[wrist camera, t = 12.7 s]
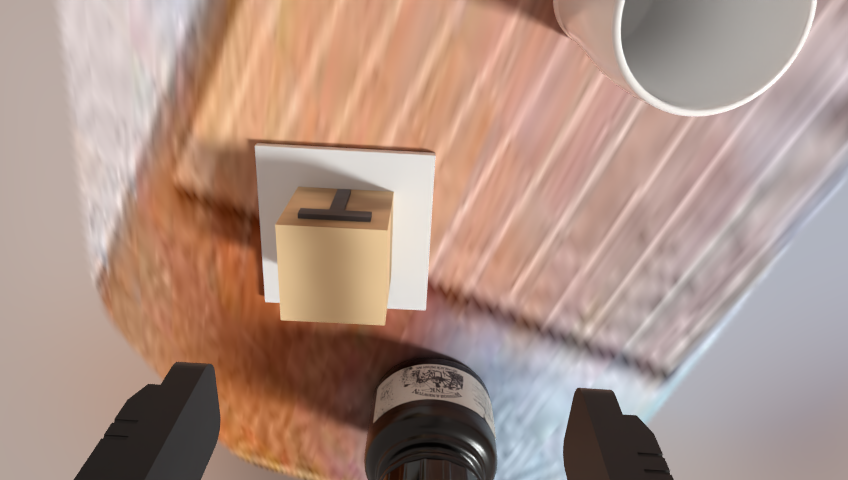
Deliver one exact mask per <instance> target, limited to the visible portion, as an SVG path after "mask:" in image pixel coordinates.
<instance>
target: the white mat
mask: <svg viewBox="0 0 848 480" xmlns="http://www.w3.org/2000/svg"><path fill="white" fill-rule="evenodd" d="M255 158H256V173H257V188H258V203H259V217H260V232H261V247H262V262H263V277H264V292H265V302H275V303H280V298H279V281H278V264H277V246H276V229H275V224H276V223H277V221H278V219H279V218H280V216H281V214H282V213H283V211H284V209H285V208H286V206H287V204H288V203H289V201H290V199H291V198H292V196H293V194H294V193H295V191H296V189H297V188H298V187H314V188H333V189H352V190H371V191H391V192H394V204H393V236H392V267H391V282H390V289H389V297H388V305H387V308H390V309H409V310H426V298H427V282H428V266H429V250H430V234H431V219H432V203H433V187H434V171H435V153H430V152H412V151H394V150H375V149H357V148H339V147H321V146H303V145H284V144H266V143H257V144H256V145H255Z"/></svg>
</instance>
